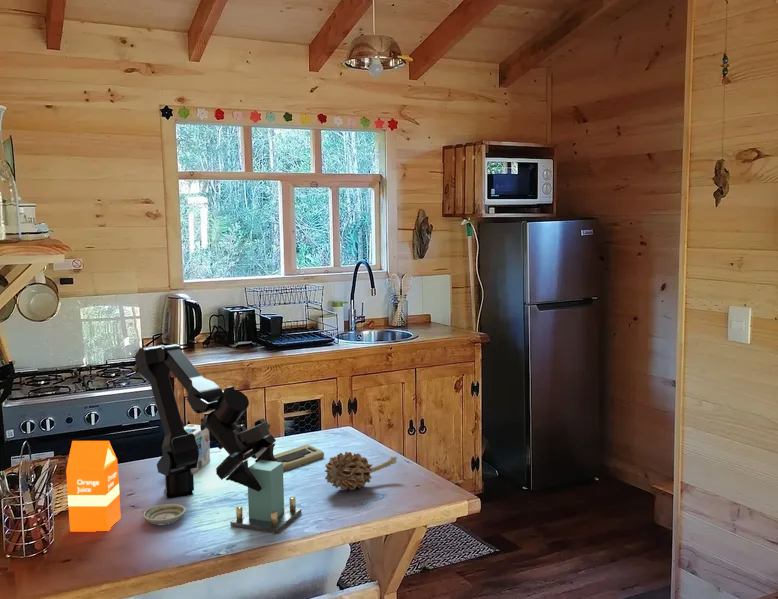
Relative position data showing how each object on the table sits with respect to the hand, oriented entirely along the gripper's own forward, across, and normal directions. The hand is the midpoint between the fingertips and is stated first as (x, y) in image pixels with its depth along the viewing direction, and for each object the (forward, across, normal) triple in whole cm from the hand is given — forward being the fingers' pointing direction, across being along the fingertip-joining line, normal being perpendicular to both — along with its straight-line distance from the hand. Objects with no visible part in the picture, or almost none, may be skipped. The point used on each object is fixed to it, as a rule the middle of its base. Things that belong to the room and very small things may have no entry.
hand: (270, 483), depth 173 cm
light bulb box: (-22, +26, +35) cm, 49 cm away
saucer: (-10, -8, +24) cm, 27 cm away
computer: (-3, +39, +17) cm, 42 cm away
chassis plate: (+6, 0, +7) cm, 9 cm away
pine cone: (+15, +27, -2) cm, 31 cm away
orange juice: (-20, -15, +33) cm, 42 cm away
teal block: (+5, 0, +6) cm, 8 cm away
